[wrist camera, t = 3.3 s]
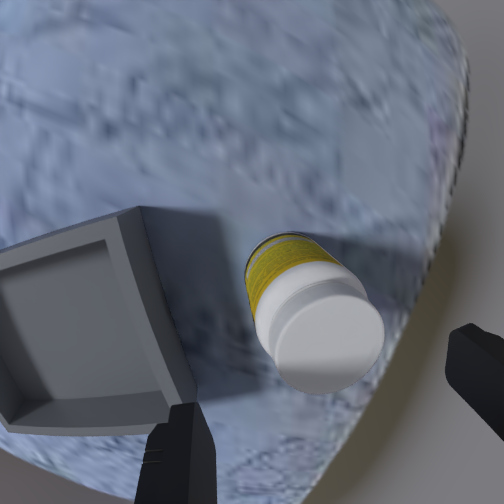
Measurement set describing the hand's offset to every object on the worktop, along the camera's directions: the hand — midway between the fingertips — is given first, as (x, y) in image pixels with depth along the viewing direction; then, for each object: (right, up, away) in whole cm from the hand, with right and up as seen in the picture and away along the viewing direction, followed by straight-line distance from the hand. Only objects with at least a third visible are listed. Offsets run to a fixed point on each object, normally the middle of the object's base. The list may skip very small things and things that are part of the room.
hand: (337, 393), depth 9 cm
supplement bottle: (-1, +3, +10) cm, 10 cm away
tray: (-15, -1, +9) cm, 17 cm away
